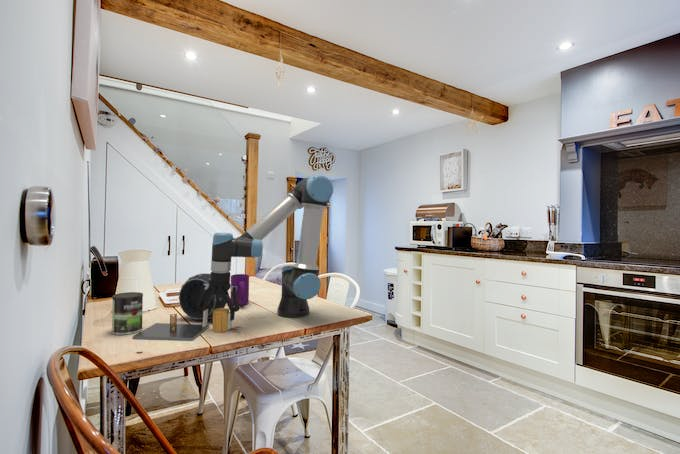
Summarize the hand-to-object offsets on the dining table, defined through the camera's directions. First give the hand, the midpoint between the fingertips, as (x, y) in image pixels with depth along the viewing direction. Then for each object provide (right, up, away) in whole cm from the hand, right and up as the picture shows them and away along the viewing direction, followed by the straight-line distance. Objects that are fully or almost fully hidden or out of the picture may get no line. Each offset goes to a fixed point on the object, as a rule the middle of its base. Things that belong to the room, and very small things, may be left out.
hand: (217, 327), depth 140 cm
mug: (-2, 0, +39) cm, 39 cm away
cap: (+2, -1, 0) cm, 2 cm away
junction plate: (-15, -1, -5) cm, 16 cm away
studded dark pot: (-11, -1, +14) cm, 18 cm away
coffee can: (-34, -1, -4) cm, 34 cm away
